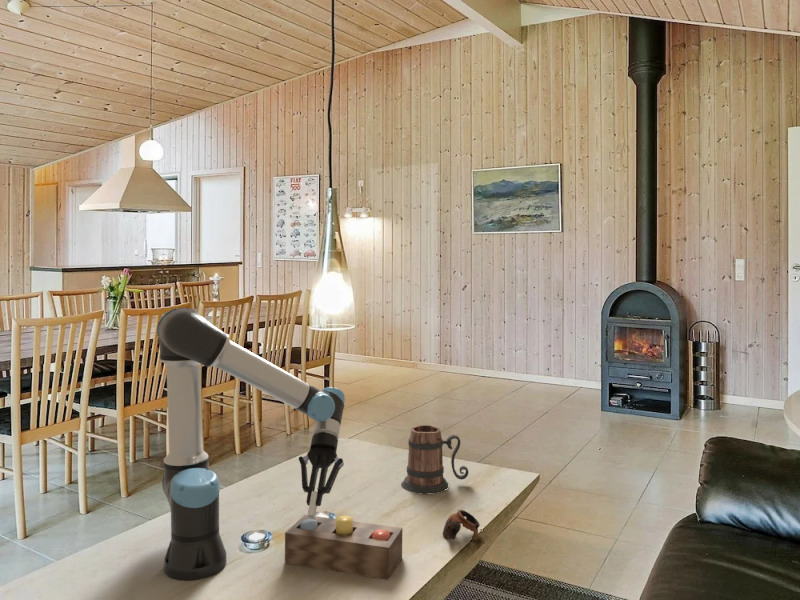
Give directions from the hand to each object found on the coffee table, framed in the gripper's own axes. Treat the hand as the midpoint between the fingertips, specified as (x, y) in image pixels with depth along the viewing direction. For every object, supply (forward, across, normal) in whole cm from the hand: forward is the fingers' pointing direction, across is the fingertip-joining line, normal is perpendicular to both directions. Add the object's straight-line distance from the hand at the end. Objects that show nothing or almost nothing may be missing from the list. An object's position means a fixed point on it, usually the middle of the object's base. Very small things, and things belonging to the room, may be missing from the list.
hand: (311, 516), depth 167 cm
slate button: (+5, 0, -4) cm, 6 cm away
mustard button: (+4, -9, -1) cm, 10 cm away
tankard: (-32, -30, -47) cm, 64 cm away
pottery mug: (-3, -39, -18) cm, 43 cm away
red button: (+7, -19, -1) cm, 21 cm away
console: (+9, -9, -5) cm, 14 cm away
